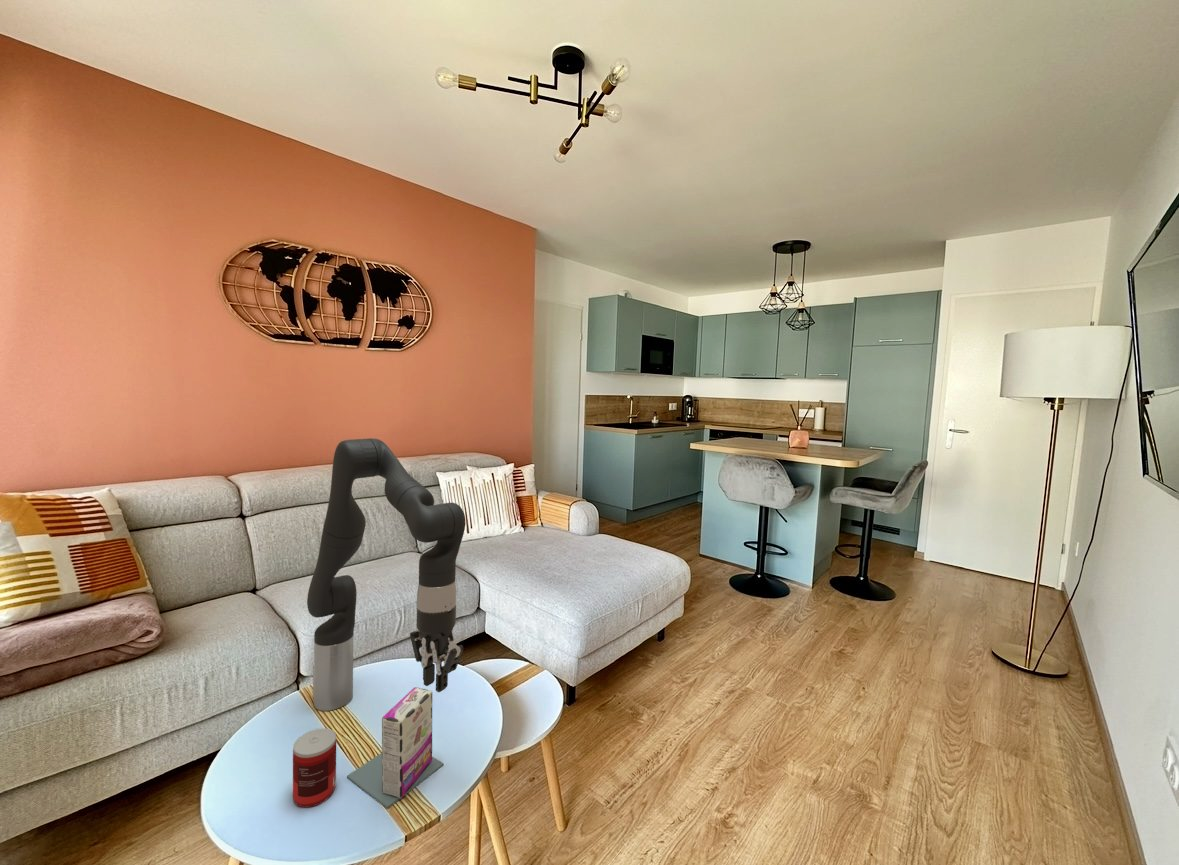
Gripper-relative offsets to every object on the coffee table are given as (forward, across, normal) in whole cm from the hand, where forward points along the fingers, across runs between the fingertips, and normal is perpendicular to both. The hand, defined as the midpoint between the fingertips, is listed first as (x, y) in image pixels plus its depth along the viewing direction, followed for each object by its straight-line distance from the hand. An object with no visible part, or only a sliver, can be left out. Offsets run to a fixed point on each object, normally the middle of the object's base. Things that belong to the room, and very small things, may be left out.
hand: (435, 686), depth 95 cm
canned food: (+23, -21, -13) cm, 34 cm away
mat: (+23, -12, 0) cm, 26 cm away
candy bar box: (+23, -8, 0) cm, 24 cm away
